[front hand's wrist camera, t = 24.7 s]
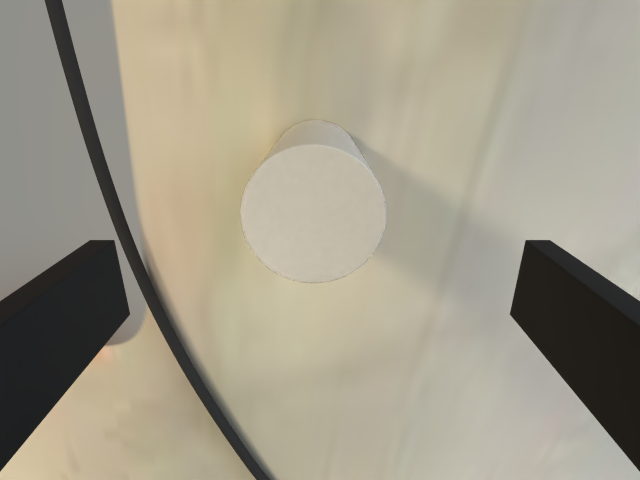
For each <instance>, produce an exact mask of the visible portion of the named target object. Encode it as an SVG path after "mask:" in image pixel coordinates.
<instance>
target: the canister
mask: <svg viewBox="0 0 640 480" xmlns="http://www.w3.org/2000/svg"><path fill="white" fill-rule="evenodd" d="M240 219H241V226H242V230H243V234H244V236H245V239H246V241H247V243H248V245H249V247H250V249H251V250H252V252H253V253H254V254H255V256H256V257H257V258H258V259H259V260H260V261H261V262H262V263H263V264H264V265H265V266H266V267H268V268H269V269H270V270H272V271H273V272H275V273H277V274H278V275H281V276H283V277H285V278H288V279H291V280H294V281H298V282H304V283H323V282H329V281H333V280H337V279H340V278H342V277H345V276H347V275H349V274H350V273H352V272H354V271H355V270H357V269H358V268H360V267H361V266H362V265H363V264H364V263H365V262H366V261H367V260H368V259H369V258H370V257H371V256H372V254H373V253H374V252H375V250H376V248H377V247H378V245H379V243H380V241H381V239H382V236H383V233H384V229H385V224H386V204H385V199H384V195H383V192H382V189H381V187H380V184H379V183H378V181H377V179H376V177H375V176H374V174H373V172H372V171H371V169H370V168H369V166H368V164H367V163H366V161H365V159H364V158H363V156H362V154H361V153H360V151H359V150H358V148H357V146H356V145H355V143H354V141H353V140H352V138H351V137H350V136H349V135H348V134H347V133H346V132H345V131H344V130H343V129H342V128H340V127H339V126H337V125H335V124H333V123H330V122H327V121H323V120H309V121H304V122H301V123H298V124H296V125H294V126H293V127H291V128H290V129H288V130H287V131H286V132H285V133H284V134H283V135H282V136H281V137H280V139H279V140H278V141H277V143H276V144H275V145H274V147H273V148H272V149H271V151H270V152H269V153H268V155H267V156H266V157H265V158H264V160H263V161H262V162H261V164H260V165H259V166H258V168H257V169H256V170H255V172H254V173H253V175H252V176H251V178H250V179H249V181H248V183H247V185H246V187H245V189H244V193H243V196H242V200H241V206H240Z"/></svg>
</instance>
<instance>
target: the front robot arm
mask: <svg viewBox="0 0 640 480" xmlns="http://www.w3.org/2000/svg"><path fill="white" fill-rule="evenodd" d="M45 3H46V7H47V11H48V14H49V18H50V22H51V26H52V29H53V33H54V37H55V41H56V44H57V48H58V52H59V55H60V59H61V62H62V66H63V69H64V73H65V76H66V79H67V83H68V87H69V90H70V94H71V97H72V100H73V104H74V107H75V111H76V114H77V117H78V121H79V124H80V128H81V131H82V134H83V137H84V140H85V144H86V147H87V150H88V153H89V156H90V159H91V162H92V165H93V168H94V171H95V174H96V177H97V180H98V183H99V186H100V188H101V191H102V194H103V197H104V200H105V203H106V205H107V208H108V211H109V214H110V216H111V219H112V222H113V224H114V227H115V230H116V232H117V235H118V237H119V240H120V242H121V245H122V247H123V250H124V252H125V255H126V257H127V259H128V262H129V264H130V266H131V269H132V271H133V273H134V276H135V278H136V280H137V282H138V284H139V287H140V289H141V291H142V293H143V295H144V298H145V300H146V302H147V304H148V306H149V308H150V310H151V312H152V314H153V316H154V318H155V320H156V322H157V324H158V326H159V328H160V330H161V332H162V334H163V336H164V338H165V339H166V341H167V343H168V345H169V347H170V349H171V350H172V352H173V354H174V356H175V358H176V359H177V361H178V363H179V365H180V367H181V368H182V370H183V372H184V373H185V375H186V377H187V378H188V380H189V382H190V383H191V385H192V387H193V388H194V390H195V391H196V393H197V395H198V396H199V398H200V399H201V401H202V402H203V404H204V406H205V407H206V409H207V410H208V412H209V413H210V415H211V416H212V418H213V420H214V421H215V423H216V424H217V426H218V427H219V428H220V430H221V431H222V433H223V434H224V436H225V437H226V439H227V440H228V442H229V443H230V444H231V446H232V447H233V449H234V450H235V451H236V453H237V454H238V456H239V457H240V459H241V460H242V461H243V463H244V464H245V466H246V467H247V468H248V470H249V471H250V472H251V473H252V475H253V476H254V477H255V478H256V480H269V478H268V477H267V476H266V474H265V473H264V472H263V471H262V469H261V468H260V467H259V466H258V464H257V463H256V462H255V460H254V459H253V458H252V456H251V455H250V453H249V452H248V450H247V449H246V448H245V446H244V445H243V443H242V442H241V440H240V439H239V437H238V436H237V435H236V433H235V432H234V430H233V429H232V427H231V426H230V424H229V423H228V421H227V420H226V418H225V417H224V415H223V414H222V412H221V410H220V409H219V407H218V406H217V404H216V403H215V401H214V399H213V398H212V396H211V395H210V393H209V391H208V390H207V388H206V387H205V385H204V383H203V382H202V380H201V378H200V377H199V375H198V373H197V372H196V370H195V368H194V366H193V365H192V363H191V361H190V359H189V358H188V356H187V354H186V352H185V350H184V348H183V347H182V345H181V343H180V341H179V339H178V337H177V335H176V333H175V331H174V329H173V328H172V326H171V324H170V322H169V320H168V318H167V316H166V314H165V312H164V310H163V308H162V305H161V303H160V301H159V299H158V297H157V295H156V292H155V290H154V288H153V286H152V283H151V281H150V279H149V277H148V274H147V272H146V270H145V267H144V265H143V262H142V260H141V258H140V255H139V253H138V250H137V248H136V245H135V243H134V240H133V238H132V235H131V233H130V230H129V227H128V224H127V222H126V219H125V216H124V213H123V211H122V208H121V205H120V202H119V199H118V196H117V193H116V190H115V187H114V184H113V181H112V178H111V175H110V172H109V169H108V166H107V163H106V160H105V157H104V154H103V150H102V147H101V144H100V141H99V137H98V134H97V130H96V127H95V123H94V120H93V116H92V113H91V109H90V106H89V102H88V98H87V95H86V91H85V88H84V84H83V80H82V77H81V73H80V69H79V66H78V62H77V58H76V54H75V51H74V47H73V43H72V39H71V35H70V31H69V27H68V23H67V19H66V15H65V11H64V7H63V3H62V0H45ZM129 315H130V312H129V307H128V302H127V298H126V293H125V288H124V284H123V279H122V274H121V270H120V265H119V260H118V256H117V251H116V246H115V242H114V240H90V241H88V242H87V243H85V244H84V245H82V246H81V247H79V248H78V249H77V250H75V251H74V252H72V253H71V254H69V255H68V256H66V257H65V258H63V259H62V260H60V261H59V262H57V263H56V264H54V265H53V266H51V267H50V268H49V269H47V270H46V271H44V272H43V273H41V274H40V275H38V276H37V277H35V278H34V279H32V280H31V281H29V282H28V283H26V284H25V285H24V286H22V287H21V288H19V289H18V290H16V291H15V292H13V293H12V294H10V295H9V296H7V297H6V298H4V299H3V300H1V301H0V471H1V470H2V469H3V467H4V466H5V465H6V464H7V463H8V461H9V460H10V459H11V458H12V457H13V455H14V454H15V453H16V452H17V451H18V449H19V448H20V447H21V446H22V444H23V443H24V442H25V441H26V440H27V438H28V437H29V436H30V435H31V434H32V432H33V431H34V430H35V429H36V428H37V426H38V425H39V424H40V423H41V421H42V420H43V419H44V418H45V417H46V415H47V414H48V413H49V412H50V411H51V409H52V408H53V407H54V406H55V405H56V403H57V402H58V401H59V400H60V398H61V397H62V396H63V395H64V394H65V392H66V391H67V390H68V389H69V388H70V386H71V385H72V384H73V383H74V381H75V380H76V379H77V378H78V377H79V375H80V374H81V373H82V372H83V371H84V369H85V368H86V367H87V366H88V365H89V363H90V362H91V361H92V360H93V358H94V357H95V356H96V355H97V354H98V352H99V351H100V350H101V349H102V348H103V346H104V345H105V344H106V343H107V341H108V340H109V339H110V338H111V337H112V335H113V334H114V333H115V332H116V331H117V329H118V328H119V327H120V326H121V325H122V323H123V322H124V321H125V320H126V319H127V317H128V316H129ZM510 315H511V316H512V317H513V319H514V320H515V321H516V322H517V323H518V325H519V326H520V327H521V328H522V329H523V331H524V332H525V333H526V334H527V335H528V337H529V338H530V339H531V340H532V342H533V343H534V344H535V345H536V346H537V348H538V349H539V350H540V351H541V352H542V354H543V355H544V356H545V357H546V358H547V360H548V361H549V362H550V363H551V365H552V366H553V367H554V368H555V369H556V371H557V372H558V373H559V374H560V375H561V377H562V378H563V379H564V380H565V381H566V383H567V384H568V385H569V386H570V388H571V389H572V390H573V391H574V392H575V394H576V395H577V396H578V397H579V398H580V400H581V401H582V402H583V403H584V405H585V406H586V407H587V408H588V409H589V411H590V412H591V413H592V414H593V415H594V417H595V418H596V419H597V420H598V421H599V423H600V424H601V425H602V426H603V428H604V429H605V430H606V431H607V432H608V434H609V435H610V436H611V437H612V438H613V440H614V441H615V442H616V443H617V444H618V446H619V447H620V448H621V449H622V451H623V452H624V453H625V454H626V455H627V457H628V458H629V459H630V460H631V461H632V463H633V464H634V465H635V466H636V467H637V469H638V470H639V471H640V301H639V300H637V299H636V298H634V297H633V296H631V295H630V294H628V293H627V292H625V291H624V290H622V289H621V288H619V287H618V286H617V285H615V284H614V283H612V282H611V281H609V280H608V279H606V278H605V277H603V276H602V275H600V274H599V273H597V272H596V271H594V270H593V269H591V268H590V267H589V266H587V265H586V264H584V263H583V262H581V261H580V260H578V259H577V258H575V257H574V256H572V255H571V254H569V253H568V252H566V251H565V250H563V249H562V248H561V247H559V246H558V245H556V244H555V243H553V242H552V241H550V240H526V242H525V246H524V251H523V256H522V260H521V265H520V270H519V274H518V279H517V284H516V288H515V293H514V298H513V302H512V307H511V312H510Z"/></svg>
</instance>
